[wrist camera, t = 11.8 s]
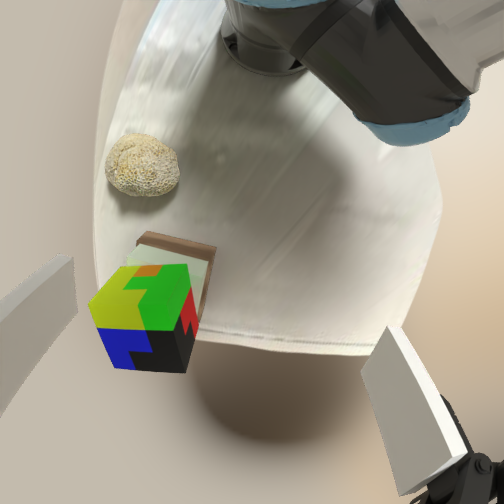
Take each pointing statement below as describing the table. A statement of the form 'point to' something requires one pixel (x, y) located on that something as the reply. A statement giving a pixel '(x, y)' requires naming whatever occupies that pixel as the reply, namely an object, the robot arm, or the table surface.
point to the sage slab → (161, 257)
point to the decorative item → (142, 166)
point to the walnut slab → (184, 249)
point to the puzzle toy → (147, 317)
